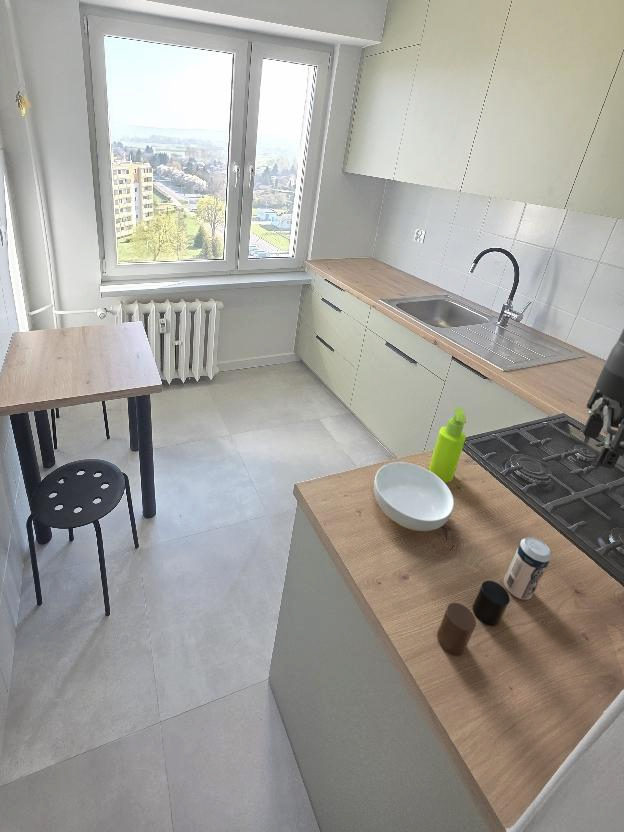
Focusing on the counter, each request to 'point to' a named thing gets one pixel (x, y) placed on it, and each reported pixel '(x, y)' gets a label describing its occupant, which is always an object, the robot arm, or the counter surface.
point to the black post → (491, 603)
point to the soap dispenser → (448, 447)
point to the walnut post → (456, 629)
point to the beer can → (527, 567)
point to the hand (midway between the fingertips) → (596, 450)
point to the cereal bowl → (413, 496)
